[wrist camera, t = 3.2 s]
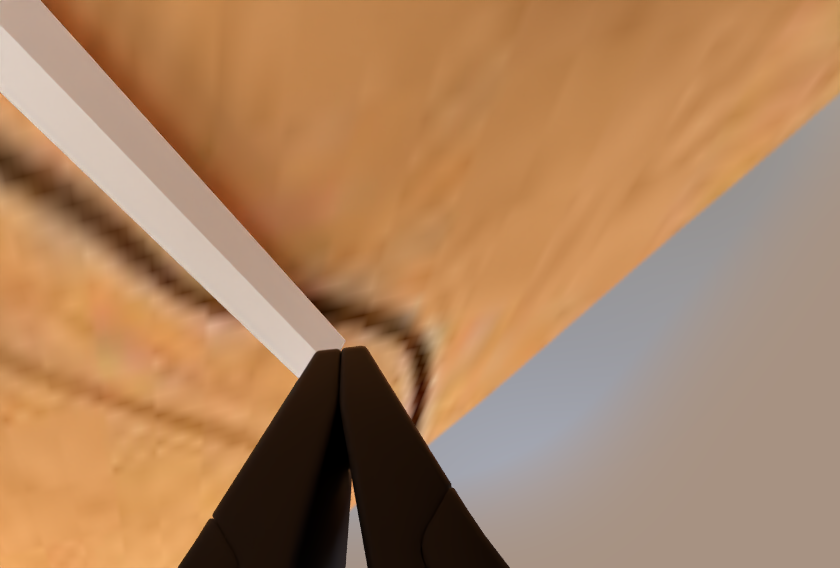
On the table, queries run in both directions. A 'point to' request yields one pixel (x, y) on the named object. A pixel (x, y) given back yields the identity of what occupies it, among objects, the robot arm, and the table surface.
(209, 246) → the beige long bar
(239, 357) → the table surface
